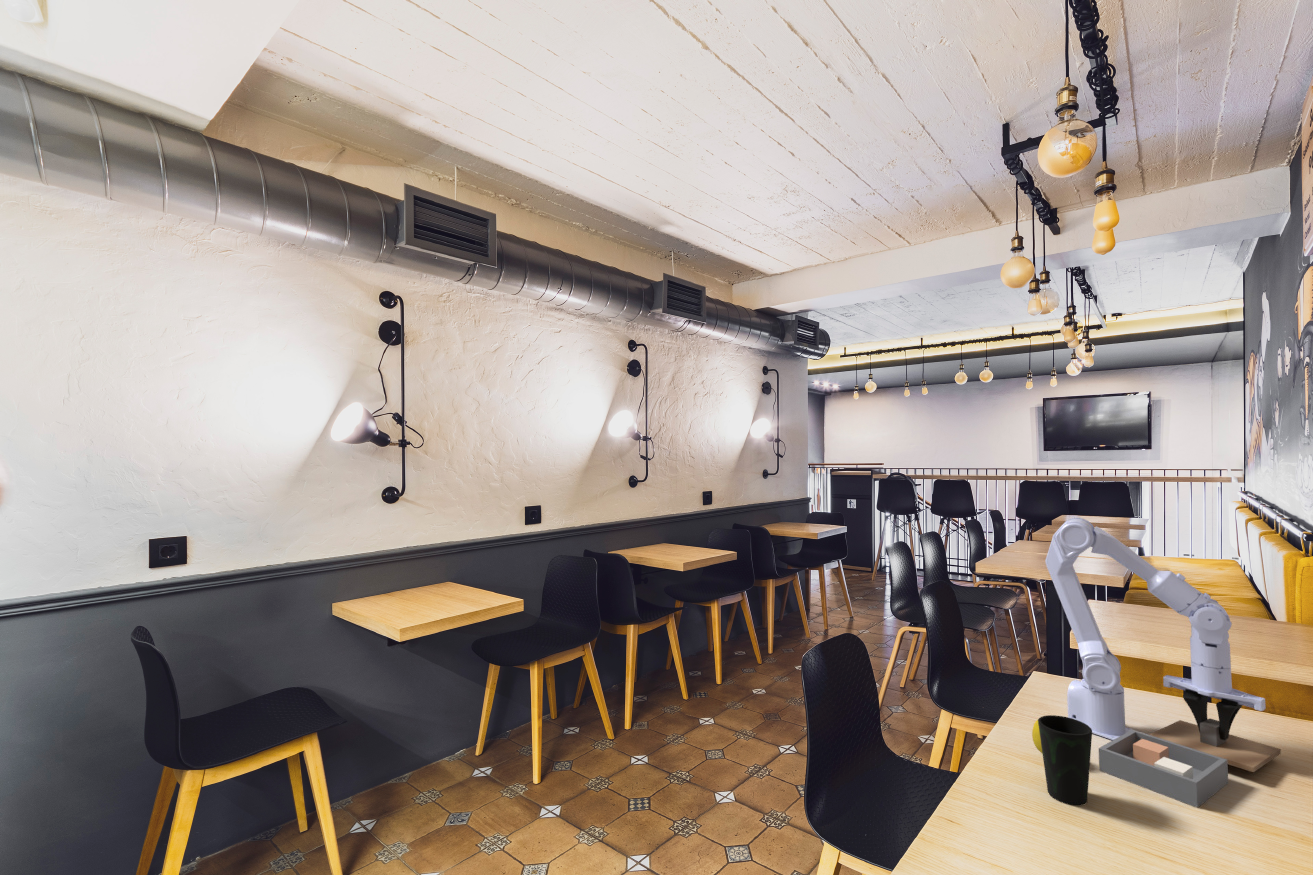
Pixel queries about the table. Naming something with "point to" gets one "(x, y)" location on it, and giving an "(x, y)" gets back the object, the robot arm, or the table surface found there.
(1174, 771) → the offwhite block
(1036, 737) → the lemon
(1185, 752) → the box
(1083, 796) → the cup
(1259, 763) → the lid
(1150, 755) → the terracotta block
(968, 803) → the table surface
